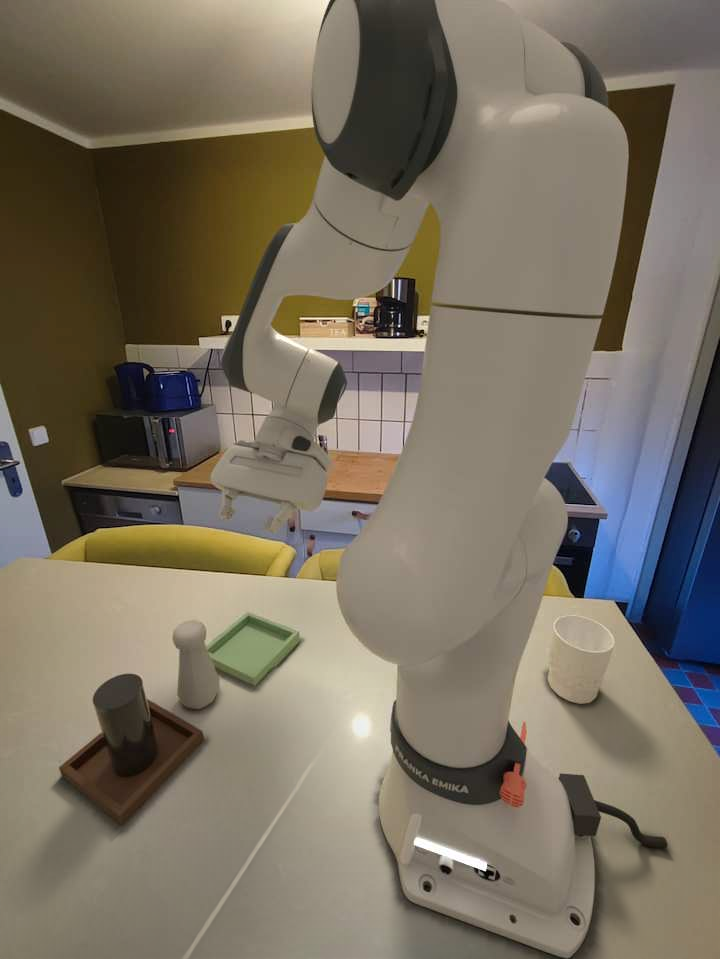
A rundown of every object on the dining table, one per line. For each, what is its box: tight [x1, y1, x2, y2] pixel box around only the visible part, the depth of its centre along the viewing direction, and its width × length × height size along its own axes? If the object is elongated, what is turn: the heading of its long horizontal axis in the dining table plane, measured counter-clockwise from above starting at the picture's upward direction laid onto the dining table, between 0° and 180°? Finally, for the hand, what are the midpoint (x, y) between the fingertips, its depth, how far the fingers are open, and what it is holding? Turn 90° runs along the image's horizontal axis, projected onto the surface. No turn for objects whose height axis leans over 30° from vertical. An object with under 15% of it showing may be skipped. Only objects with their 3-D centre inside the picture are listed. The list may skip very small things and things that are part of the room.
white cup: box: [547, 614, 616, 705], centre depth 63 cm, size 8×8×10 cm
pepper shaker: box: [92, 673, 158, 777], centre depth 52 cm, size 5×5×11 cm
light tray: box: [206, 611, 301, 687], centre depth 72 cm, size 12×12×2 cm
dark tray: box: [58, 698, 205, 826], centre depth 54 cm, size 12×12×2 cm
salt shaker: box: [172, 619, 220, 710], centre depth 61 cm, size 6×6×13 cm
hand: (246, 524), depth 66 cm, fingers open, 8 cm apart
